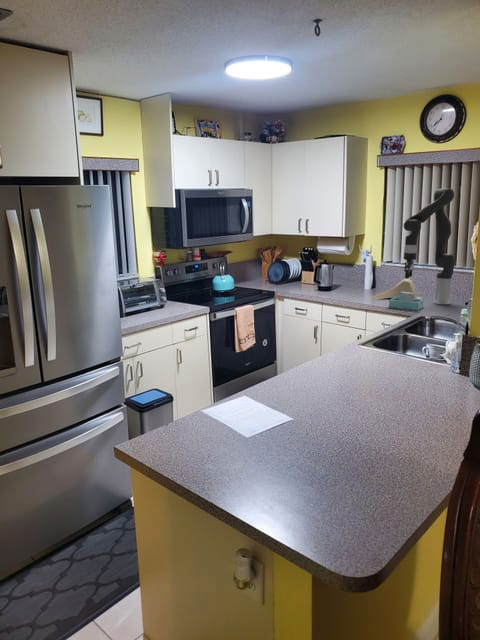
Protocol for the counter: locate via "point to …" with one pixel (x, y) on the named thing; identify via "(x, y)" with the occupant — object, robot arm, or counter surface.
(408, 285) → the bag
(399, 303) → the tote
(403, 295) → the medicine box
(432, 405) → the counter surface
